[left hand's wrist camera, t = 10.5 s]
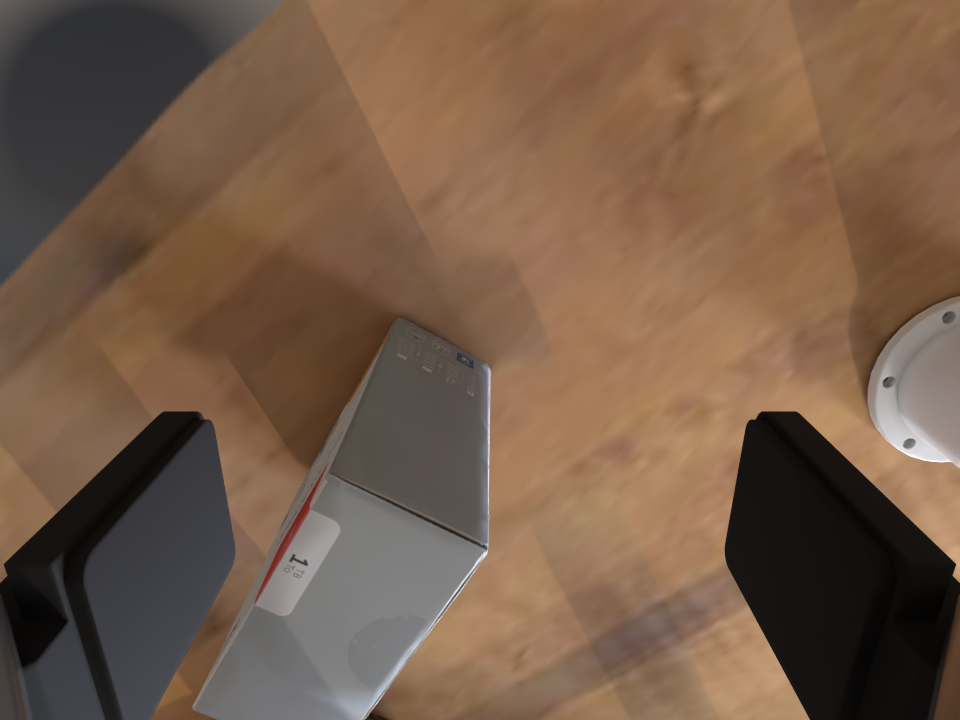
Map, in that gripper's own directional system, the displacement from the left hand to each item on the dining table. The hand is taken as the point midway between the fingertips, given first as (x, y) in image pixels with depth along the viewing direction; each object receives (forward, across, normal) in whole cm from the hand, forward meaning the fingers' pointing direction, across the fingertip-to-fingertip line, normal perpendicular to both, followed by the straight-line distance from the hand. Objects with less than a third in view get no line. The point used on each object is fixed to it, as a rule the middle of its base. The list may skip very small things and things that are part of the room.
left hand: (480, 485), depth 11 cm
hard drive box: (+32, -6, -15) cm, 36 cm away
